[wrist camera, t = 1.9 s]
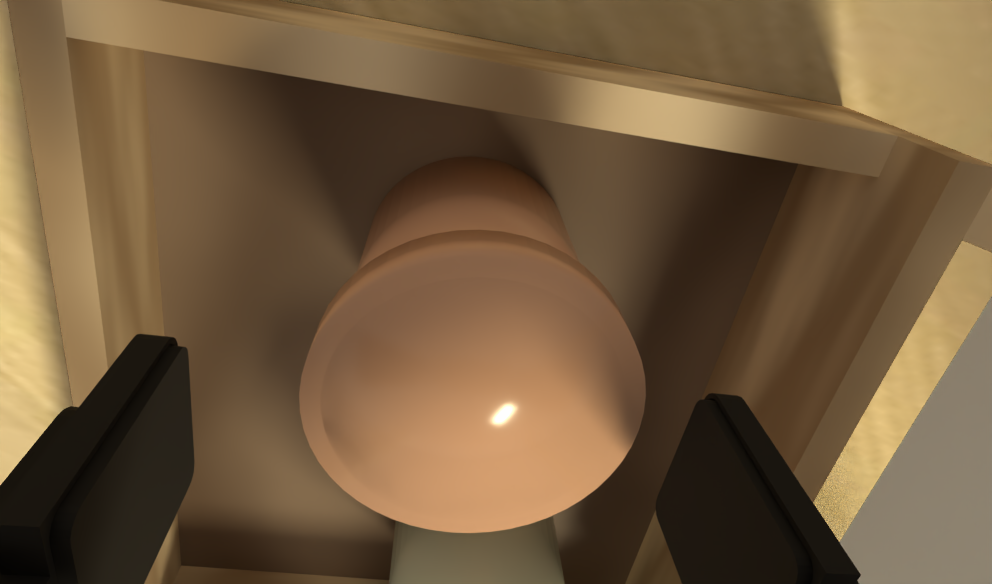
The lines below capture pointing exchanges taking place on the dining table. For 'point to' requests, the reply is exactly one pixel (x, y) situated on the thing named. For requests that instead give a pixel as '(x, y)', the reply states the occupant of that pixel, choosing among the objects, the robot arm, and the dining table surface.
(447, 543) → the sage pot
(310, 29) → the wooden tray
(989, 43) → the dining table surface
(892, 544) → the lid
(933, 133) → the dining table surface
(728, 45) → the dining table surface
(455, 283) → the terracotta pot
